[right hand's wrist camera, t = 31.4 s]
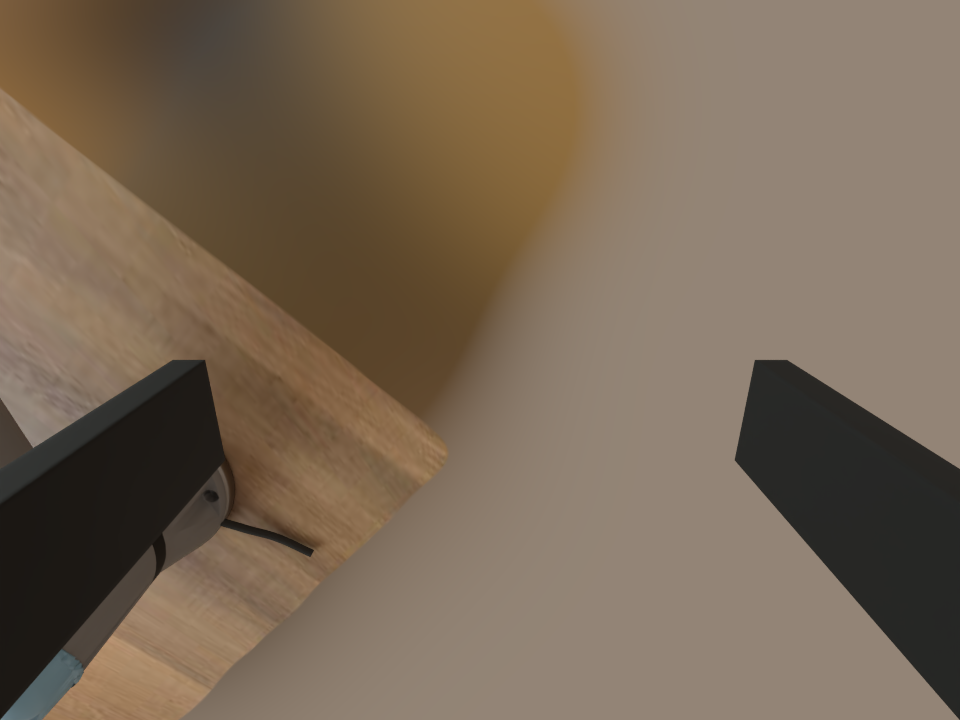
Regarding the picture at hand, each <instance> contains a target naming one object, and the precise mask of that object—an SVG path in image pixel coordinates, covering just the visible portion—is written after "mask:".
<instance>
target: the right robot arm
mask: <svg viewBox="0 0 960 720" xmlns="http://www.w3.org/2000/svg"><path fill="white" fill-rule="evenodd" d="M735 461H736V462H737V463H738V465H739V466H740V467H741V468H742V469H743V470H744V471H745V473H746V474H747V475H748V476H749V477H750V478H751V479H752V481H753V482H754V483H755V484H756V485H757V486H758V488H759V489H760V490H761V491H762V492H763V493H764V495H765V496H766V497H767V498H768V499H769V500H770V501H771V503H772V504H773V505H774V506H775V507H776V508H777V510H778V511H779V512H780V513H781V514H782V515H783V516H784V518H785V519H786V520H787V521H788V522H789V523H790V525H791V526H792V527H793V528H794V529H795V530H796V531H797V533H798V534H799V535H800V536H801V537H802V538H803V540H804V541H805V542H806V543H807V544H808V545H809V546H810V548H811V549H812V550H813V551H814V552H815V553H816V555H817V556H818V557H819V558H820V559H821V560H822V561H823V563H824V564H825V565H826V566H827V567H828V568H829V570H830V571H831V572H832V573H833V574H834V575H835V576H836V578H837V579H838V580H839V581H840V582H841V583H842V585H843V586H844V587H845V588H846V589H847V590H848V591H849V593H850V594H851V595H852V596H853V597H854V598H855V600H856V601H857V602H858V603H859V604H860V605H861V606H862V608H863V609H864V610H865V611H866V612H867V613H868V615H869V616H870V617H871V618H872V619H873V620H874V621H875V623H876V624H877V625H878V626H879V627H880V628H881V630H882V631H883V632H884V633H885V634H886V635H887V636H888V638H889V639H890V640H891V641H892V642H893V643H894V645H895V646H896V647H897V648H898V649H899V650H900V651H901V653H902V654H903V655H904V656H905V657H906V658H907V660H908V661H909V662H910V663H911V664H912V665H913V667H914V668H915V669H916V670H917V671H918V672H919V673H920V675H921V676H922V677H923V678H924V679H925V680H926V682H927V683H928V684H929V685H930V686H931V687H932V688H933V690H934V691H935V692H936V693H937V694H938V695H939V697H940V698H941V699H942V700H943V701H944V702H945V703H946V705H947V706H948V707H949V708H950V709H951V710H952V712H953V713H954V714H955V715H956V716H957V717H958V718H959V720H960V469H959V468H957V467H956V466H954V465H952V464H951V463H949V462H948V461H946V460H944V459H943V458H941V457H940V456H938V455H937V454H935V453H933V452H932V451H930V450H929V449H927V448H925V447H924V446H922V445H921V444H919V443H918V442H916V441H914V440H913V439H911V438H910V437H908V436H907V435H905V434H903V433H902V432H900V431H899V430H897V429H895V428H894V427H892V426H891V425H889V424H887V423H886V422H884V421H883V420H881V419H880V418H878V417H876V416H875V415H873V414H872V413H870V412H869V411H867V410H865V409H864V408H862V407H861V406H859V405H857V404H856V403H854V402H853V401H851V400H850V399H848V398H846V397H845V396H843V395H841V394H840V393H838V392H837V391H835V390H834V389H832V388H830V387H829V386H827V385H826V384H824V383H823V382H821V381H819V380H818V379H816V378H815V377H813V376H811V375H810V374H808V373H807V372H805V371H804V370H802V369H800V368H799V367H797V366H796V365H794V364H792V363H791V362H789V361H788V360H755V362H754V367H753V372H752V377H751V382H750V387H749V392H748V397H747V402H746V407H745V412H744V417H743V422H742V427H741V432H740V437H739V442H738V447H737V452H736V457H735ZM234 495H235V486H234V479H233V475H232V472H231V469H230V467H229V465H228V462H227V460H226V459H225V457H224V452H223V447H222V442H221V437H220V432H219V427H218V422H217V417H216V412H215V407H214V402H213V397H212V392H211V387H210V382H209V377H208V372H207V367H206V362H205V360H172V361H171V362H169V363H168V364H166V365H164V366H163V367H161V368H160V369H158V370H156V371H155V372H153V373H152V374H150V375H149V376H147V377H145V378H144V379H142V380H141V381H139V382H137V383H136V384H134V385H133V386H131V387H130V388H128V389H126V390H125V391H123V392H122V393H120V394H118V395H117V396H115V397H114V398H112V399H110V400H109V401H107V402H106V403H104V404H103V405H101V406H99V407H98V408H96V409H95V410H93V411H91V412H90V413H88V414H87V415H85V416H84V417H82V418H80V419H79V420H77V421H76V422H74V423H72V424H71V425H69V426H68V427H66V428H65V429H63V430H61V431H60V432H58V433H57V434H55V435H53V436H52V437H50V438H49V439H47V440H46V441H44V442H42V443H41V444H39V445H38V446H36V447H34V448H33V447H32V446H31V444H30V443H29V441H28V440H27V438H26V437H25V435H24V434H23V432H22V431H21V429H20V428H19V426H18V424H17V423H16V421H15V420H14V418H13V417H12V415H11V414H10V412H9V411H8V409H7V408H6V406H5V405H4V403H3V402H2V400H1V399H0V720H42V719H43V718H44V717H45V716H46V715H47V714H48V712H49V711H50V710H51V709H52V708H53V707H54V706H55V705H56V704H57V702H58V701H59V700H60V699H61V698H62V697H63V696H64V695H65V694H66V692H67V691H68V690H69V689H70V688H72V687H73V686H74V685H75V684H76V683H77V682H79V680H80V679H81V676H82V674H83V673H84V670H85V668H86V667H87V666H88V665H89V663H90V662H91V661H92V659H93V658H94V657H95V656H96V654H97V653H98V652H99V650H100V649H101V648H102V647H103V645H104V644H105V643H106V641H107V640H108V639H109V638H110V636H111V635H112V634H113V632H114V631H115V630H116V629H117V627H118V626H119V625H120V623H121V622H122V621H123V620H124V618H125V617H126V616H127V614H128V613H129V612H130V611H131V609H132V608H133V607H134V605H135V604H136V603H137V602H138V600H139V599H140V598H141V596H142V595H143V594H144V593H145V591H146V590H147V589H148V587H149V586H150V585H151V583H152V582H153V581H154V579H155V578H156V577H157V576H158V575H159V573H160V572H162V571H163V570H165V569H166V568H168V567H169V566H171V565H172V564H174V563H175V562H177V561H178V560H180V559H182V558H183V557H185V556H186V555H188V554H189V553H191V552H192V551H194V550H195V549H197V548H198V547H200V546H201V545H203V544H204V543H205V542H207V541H208V540H209V539H210V538H211V537H213V535H214V534H215V533H216V532H217V531H218V529H219V528H220V527H221V526H223V527H227V528H230V529H234V530H237V531H240V532H244V533H247V534H251V535H255V536H259V537H263V538H267V539H270V540H273V541H276V542H279V543H281V544H284V545H286V546H288V547H290V548H293V549H295V550H297V551H299V552H301V553H303V554H305V555H307V556H309V557H311V555H312V553H313V551H314V550H313V549H310V548H308V547H306V546H304V545H302V544H300V543H298V542H296V541H294V540H292V539H289V538H287V537H285V536H282V535H280V534H277V533H274V532H271V531H267V530H263V529H259V528H255V527H252V526H248V525H245V524H241V523H238V522H235V521H231V520H228V519H226V518H227V517H228V515H229V513H230V511H231V509H232V506H233V502H234Z"/></svg>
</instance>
